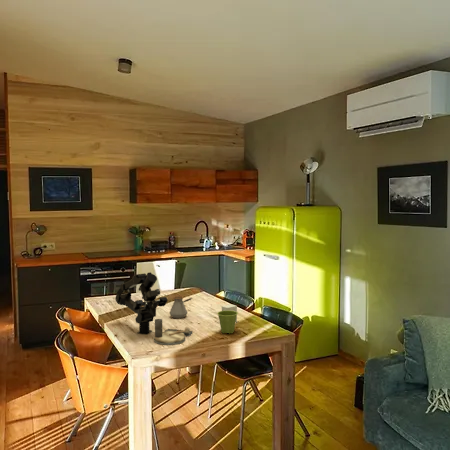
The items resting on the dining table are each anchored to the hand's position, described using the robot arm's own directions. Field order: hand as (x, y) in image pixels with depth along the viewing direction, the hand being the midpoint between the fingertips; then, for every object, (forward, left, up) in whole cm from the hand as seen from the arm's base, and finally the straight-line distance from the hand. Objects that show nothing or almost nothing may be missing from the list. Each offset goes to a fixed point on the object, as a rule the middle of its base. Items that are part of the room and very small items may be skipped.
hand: (155, 316), depth 253 cm
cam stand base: (-4, +8, -13) cm, 16 cm away
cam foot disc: (-3, +10, -11) cm, 15 cm away
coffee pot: (-44, -2, -13) cm, 46 cm away
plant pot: (-24, +34, -13) cm, 43 cm away
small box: (-44, +29, -13) cm, 54 cm away
